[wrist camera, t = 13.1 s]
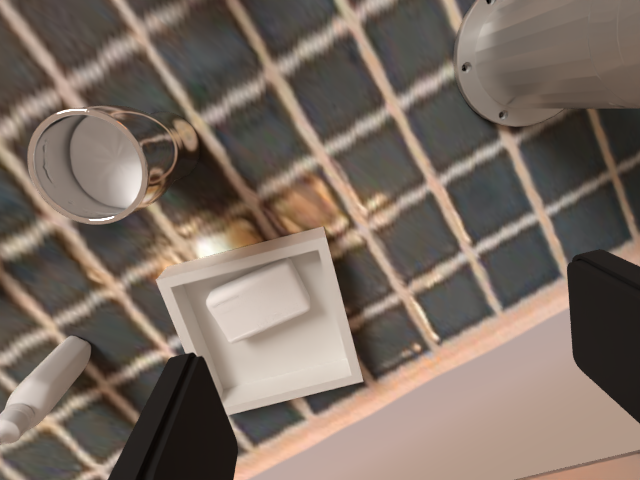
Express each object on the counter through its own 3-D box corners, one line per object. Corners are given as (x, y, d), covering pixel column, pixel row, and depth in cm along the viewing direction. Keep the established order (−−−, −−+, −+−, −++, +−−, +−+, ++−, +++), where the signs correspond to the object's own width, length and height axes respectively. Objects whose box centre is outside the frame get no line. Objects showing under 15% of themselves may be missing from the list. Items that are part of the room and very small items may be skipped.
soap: (289, 253, 41) (288, 263, 38) (312, 298, 43) (313, 312, 40) (208, 289, 42) (201, 302, 39) (233, 332, 43) (229, 348, 40)
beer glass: (214, 122, 37) (164, 131, 23) (194, 194, 39) (135, 243, 25) (136, 94, 36) (33, 84, 22) (119, 169, 38) (13, 205, 24)
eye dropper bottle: (36, 352, 43) (-58, 440, 32) (81, 329, 43) (3, 409, 31) (62, 383, 44) (-18, 478, 33) (107, 361, 44) (41, 450, 32)
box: (323, 226, 41) (325, 236, 37) (358, 361, 46) (363, 381, 42) (167, 266, 41) (155, 280, 38) (218, 396, 46) (212, 419, 43)
